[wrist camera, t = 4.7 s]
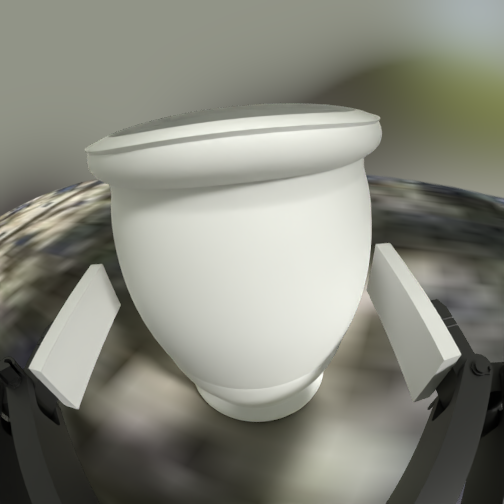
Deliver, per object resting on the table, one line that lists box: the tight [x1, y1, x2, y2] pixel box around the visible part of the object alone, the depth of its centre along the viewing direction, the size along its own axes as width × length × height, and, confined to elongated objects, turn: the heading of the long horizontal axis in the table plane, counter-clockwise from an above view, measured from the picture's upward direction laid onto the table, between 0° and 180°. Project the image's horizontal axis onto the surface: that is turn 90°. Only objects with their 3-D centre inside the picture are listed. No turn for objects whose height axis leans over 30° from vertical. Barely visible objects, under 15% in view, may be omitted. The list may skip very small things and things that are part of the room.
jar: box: [84, 103, 382, 422], centre depth 13 cm, size 11×10×15 cm
